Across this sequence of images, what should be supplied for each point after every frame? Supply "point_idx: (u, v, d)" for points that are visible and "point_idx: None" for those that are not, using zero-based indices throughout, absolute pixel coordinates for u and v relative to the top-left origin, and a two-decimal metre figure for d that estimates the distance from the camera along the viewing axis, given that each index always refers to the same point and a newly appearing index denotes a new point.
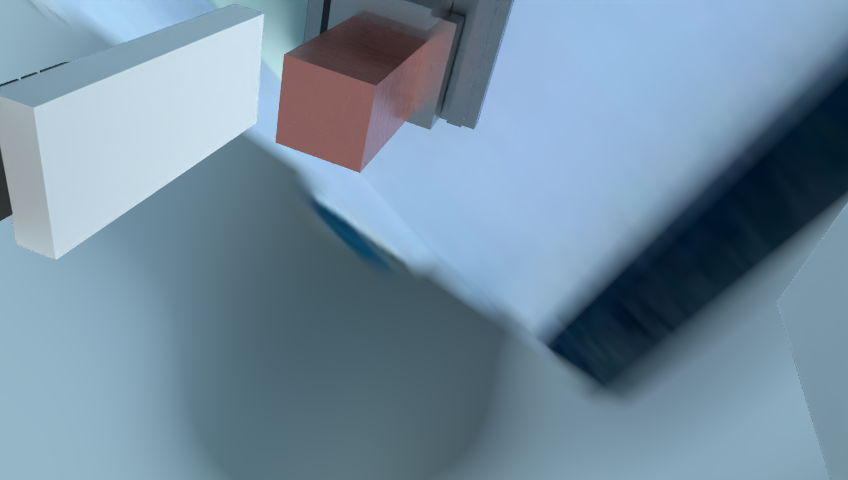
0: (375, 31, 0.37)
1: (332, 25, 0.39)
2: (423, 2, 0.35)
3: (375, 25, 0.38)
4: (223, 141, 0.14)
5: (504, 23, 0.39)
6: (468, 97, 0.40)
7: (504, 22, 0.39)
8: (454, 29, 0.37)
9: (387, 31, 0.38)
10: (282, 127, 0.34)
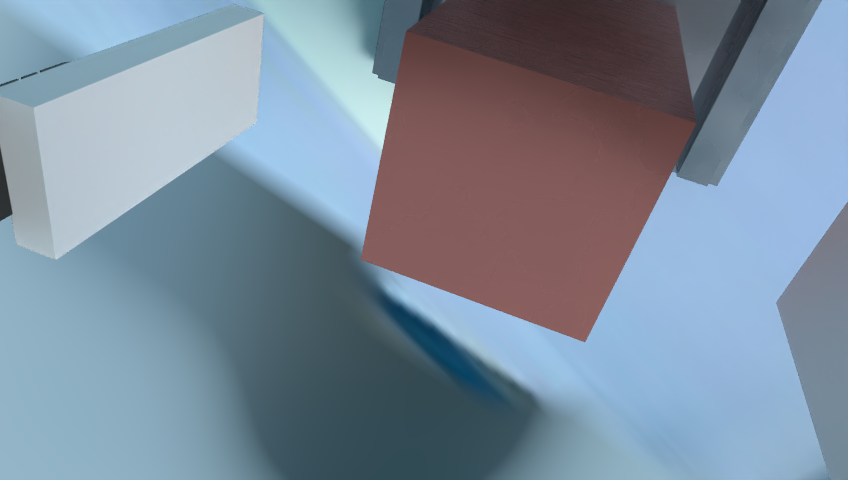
0: None
1: None
2: None
3: None
4: (223, 141, 0.14)
5: None
6: (737, 127, 0.19)
7: None
8: None
9: None
10: (382, 225, 0.13)
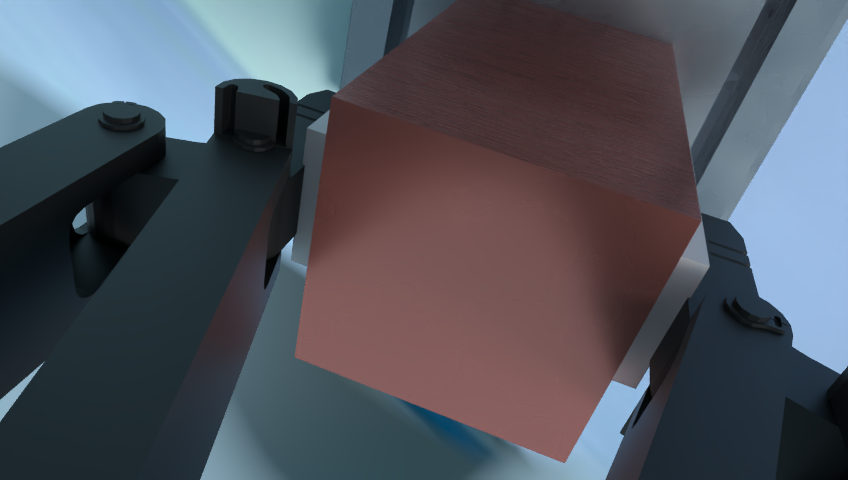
0: (549, 20, 0.14)
1: (424, 9, 0.16)
2: None
3: (538, 6, 0.15)
4: None
5: None
6: (742, 176, 0.17)
7: None
8: (756, 13, 0.14)
9: (574, 20, 0.15)
10: (317, 321, 0.11)
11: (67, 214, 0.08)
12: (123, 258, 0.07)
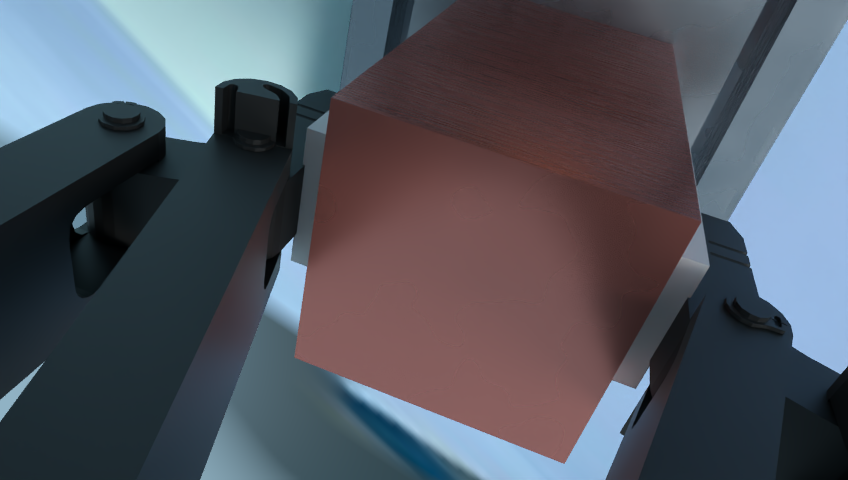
0: (549, 20, 0.14)
1: (424, 8, 0.16)
2: None
3: (538, 6, 0.15)
4: None
5: (781, 125, 0.18)
6: None
7: (782, 124, 0.17)
8: (756, 13, 0.14)
9: (574, 20, 0.15)
10: (317, 322, 0.11)
11: (67, 213, 0.08)
12: (123, 258, 0.07)
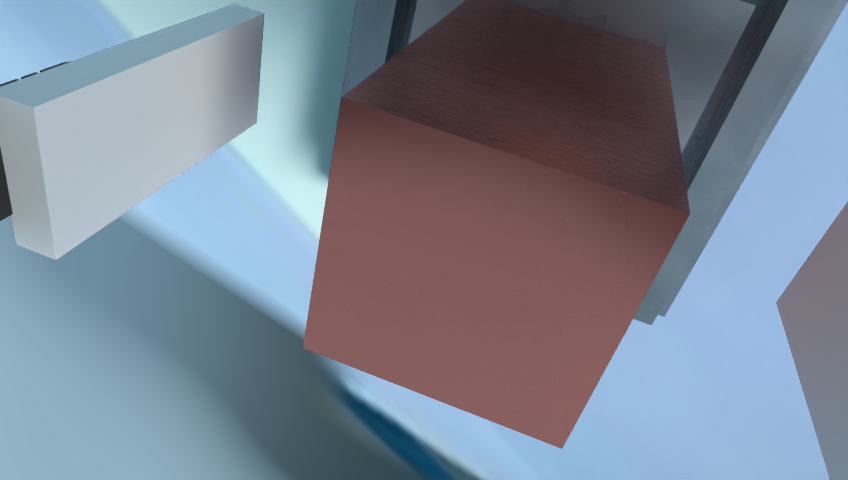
0: (546, 25, 0.15)
1: (425, 14, 0.17)
2: None
3: (536, 12, 0.16)
4: (223, 141, 0.14)
5: (770, 130, 0.18)
6: (677, 274, 0.20)
7: (771, 128, 0.18)
8: (746, 19, 0.15)
9: (570, 25, 0.15)
10: (325, 313, 0.11)
11: None
12: None
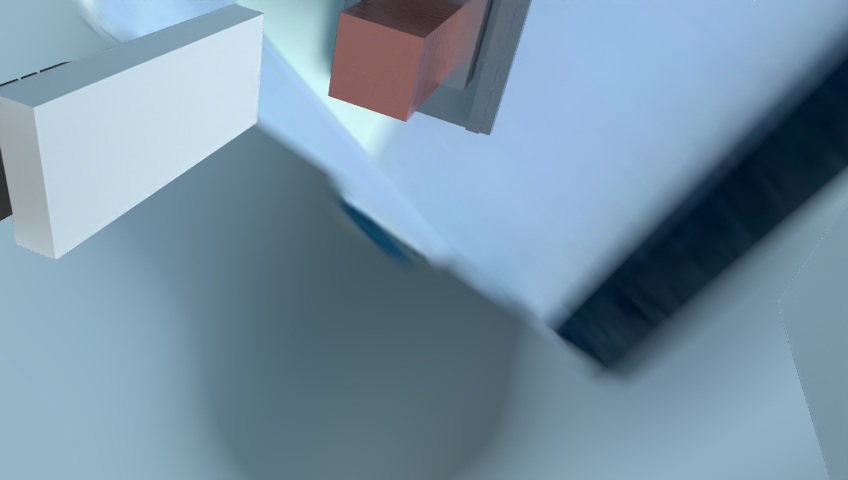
0: None
1: None
2: None
3: None
4: (223, 141, 0.14)
5: (517, 42, 0.44)
6: (485, 107, 0.45)
7: (517, 41, 0.44)
8: None
9: None
10: (335, 81, 0.37)
11: None
12: None
